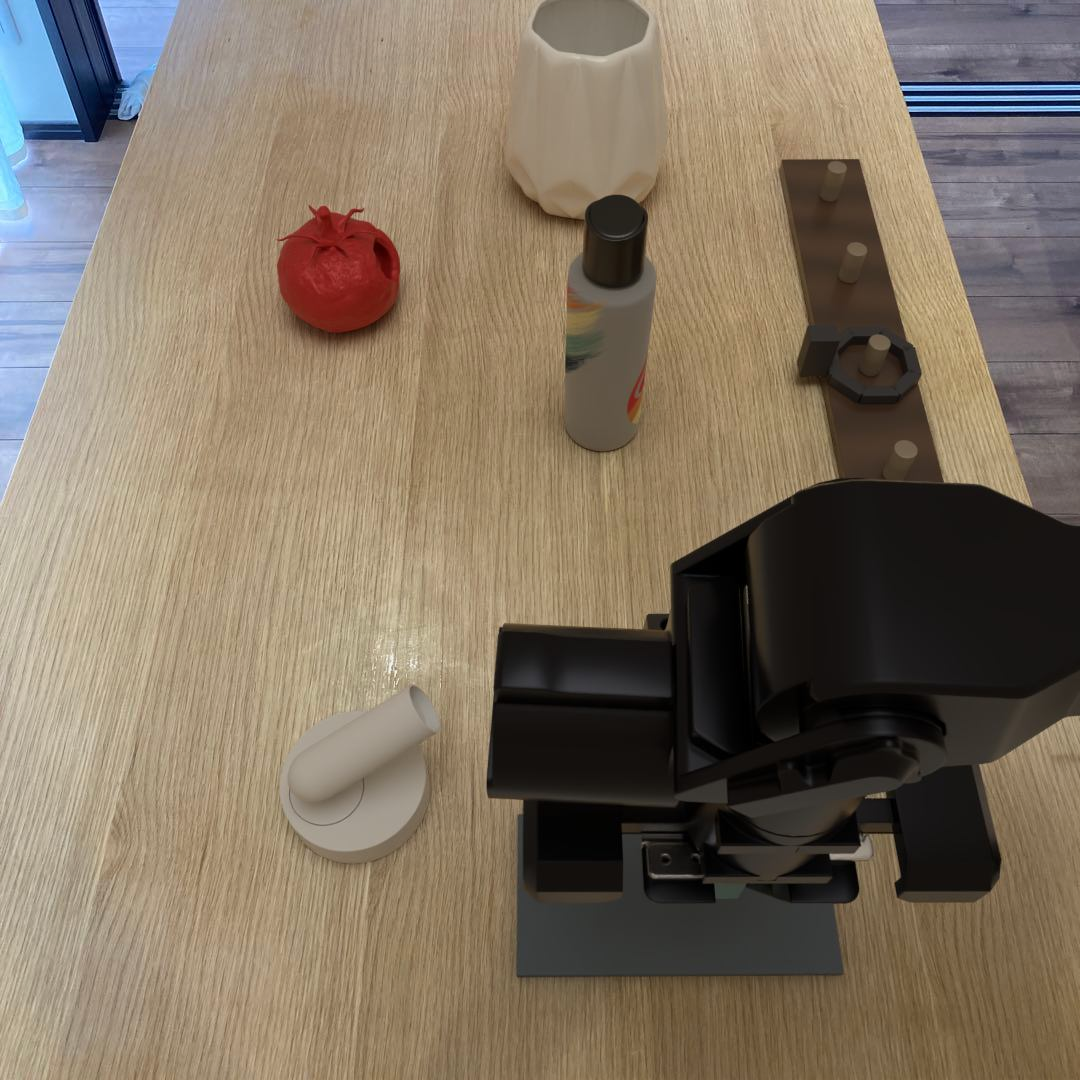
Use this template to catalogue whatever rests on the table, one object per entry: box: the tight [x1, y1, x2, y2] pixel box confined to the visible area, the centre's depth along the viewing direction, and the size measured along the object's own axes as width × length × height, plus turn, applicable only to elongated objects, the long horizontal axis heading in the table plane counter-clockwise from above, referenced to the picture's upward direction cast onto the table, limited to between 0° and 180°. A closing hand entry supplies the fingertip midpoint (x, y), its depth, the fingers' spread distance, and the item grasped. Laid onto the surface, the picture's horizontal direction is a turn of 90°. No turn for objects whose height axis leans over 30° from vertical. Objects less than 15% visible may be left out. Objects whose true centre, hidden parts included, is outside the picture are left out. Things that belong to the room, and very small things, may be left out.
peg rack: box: [779, 158, 945, 482], centre depth 81 cm, size 40×7×4 cm, turn 0°
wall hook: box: [279, 683, 442, 865], centre depth 59 cm, size 9×10×10 cm
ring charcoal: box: [796, 324, 923, 404], centre depth 78 cm, size 9×7×4 cm
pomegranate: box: [275, 204, 401, 334], centre depth 81 cm, size 10×10×9 cm
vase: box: [504, 0, 670, 221], centre depth 87 cm, size 14×14×15 cm
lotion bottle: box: [563, 195, 657, 452], centre depth 70 cm, size 6×6×20 cm
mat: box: [516, 813, 845, 978], centre depth 59 cm, size 18×9×1 cm, turn 90°
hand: (721, 872), depth 49 cm, fingers closed
